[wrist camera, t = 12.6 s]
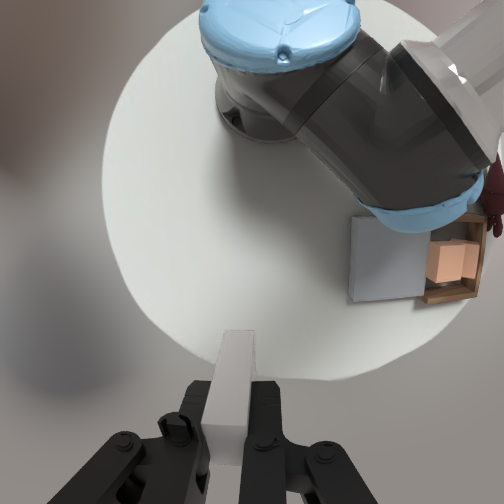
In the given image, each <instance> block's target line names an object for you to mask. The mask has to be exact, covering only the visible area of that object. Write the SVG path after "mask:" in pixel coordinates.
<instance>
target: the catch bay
mask: <svg viewBox="0 0 504 504" xmlns="http://www.w3.org/2000/svg"><path fill="white" fill-rule="evenodd" d="M487 218H488V217H487V216H482V215H478V214H473V213H464V214H463V215H462V216H460V217H459V218H457V219H456V220H454V221H453V222H468V228H467V241H474V242H478V243H479V245H480V247H479V255H478V263H477V269H476V275H475V279H472V278H466V277H462V278H461V284H456V285H447V286H438V287H429V288H425V290H424V295H423V296H417V297H418V298H419V299H421V300H422V301H423V302H424V303H425V304H427V305H429V304H437V303H443V302H450V301H456V300H462V299H468V298H474V297H477V293H478V288H479V283H480V278H481V272H482V266H483V259H484V251H485V242H486V232H487Z"/></svg>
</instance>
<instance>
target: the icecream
mask: <svg viewBox="0 0 504 504" xmlns="http://www.w3.org/2000/svg"><path fill="white" fill-rule="evenodd" d="M480 201H481V203H482V206H483V208H484V213H485V214H486V216H487V217H488V218H487V232H488V231H490V230H491V228H492V226H493V235H494V237H496V238H498V237H499V236H500V235H501V234H502V229H503V224H502V220H501V215H503V214H504V173H503V169H502V165H501V162H500V158H499V155H498V152H497V156H496V161H495V162H494V163H492V164H491V165H490V168H489V171H488V174H487V177H486V180H485V183H484V186H483V189H482V192H481V194H480Z"/></svg>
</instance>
